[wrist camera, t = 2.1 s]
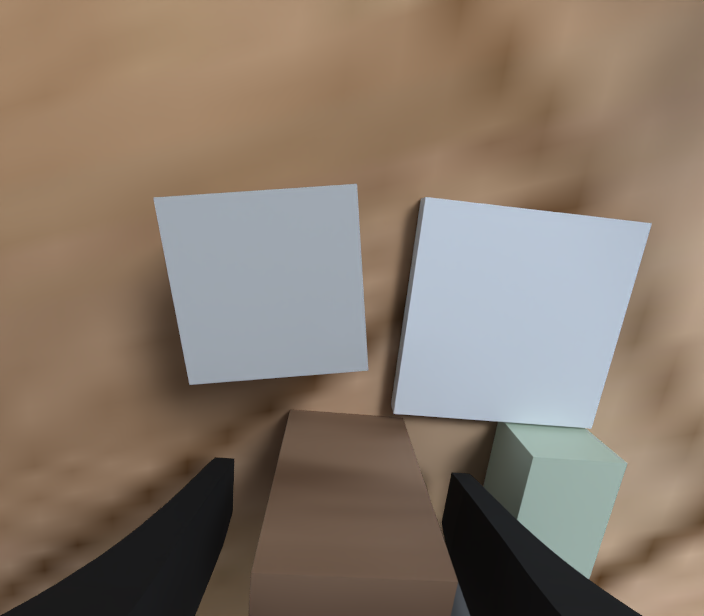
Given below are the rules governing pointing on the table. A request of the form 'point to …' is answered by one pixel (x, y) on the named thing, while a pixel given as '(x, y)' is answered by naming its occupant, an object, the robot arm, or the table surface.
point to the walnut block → (350, 525)
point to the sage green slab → (556, 486)
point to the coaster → (513, 312)
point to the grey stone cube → (266, 282)
